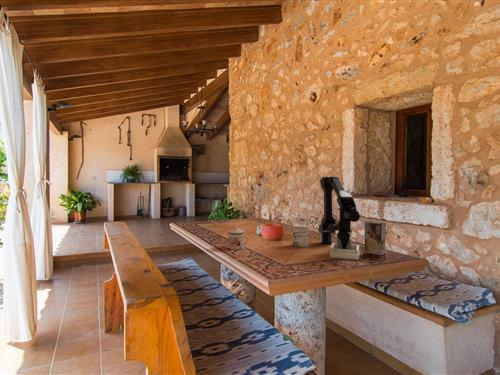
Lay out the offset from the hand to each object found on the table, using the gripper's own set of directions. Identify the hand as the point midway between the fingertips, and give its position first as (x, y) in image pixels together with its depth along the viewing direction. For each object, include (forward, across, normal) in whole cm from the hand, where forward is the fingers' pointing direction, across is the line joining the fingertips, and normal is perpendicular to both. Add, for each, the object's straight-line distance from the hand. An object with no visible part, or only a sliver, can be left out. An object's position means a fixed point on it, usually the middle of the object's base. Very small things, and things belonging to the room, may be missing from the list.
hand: (344, 248), depth 169 cm
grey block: (+2, 0, 0) cm, 2 cm away
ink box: (+2, -6, -25) cm, 26 cm away
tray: (+2, +10, +1) cm, 10 cm away
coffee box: (+2, -4, +15) cm, 16 cm away
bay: (+2, -3, 0) cm, 3 cm away
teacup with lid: (+2, +14, -55) cm, 57 cm away
